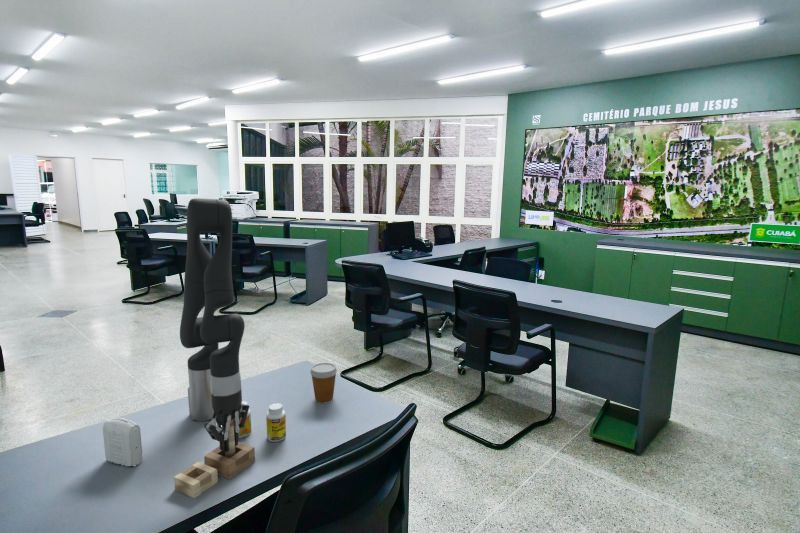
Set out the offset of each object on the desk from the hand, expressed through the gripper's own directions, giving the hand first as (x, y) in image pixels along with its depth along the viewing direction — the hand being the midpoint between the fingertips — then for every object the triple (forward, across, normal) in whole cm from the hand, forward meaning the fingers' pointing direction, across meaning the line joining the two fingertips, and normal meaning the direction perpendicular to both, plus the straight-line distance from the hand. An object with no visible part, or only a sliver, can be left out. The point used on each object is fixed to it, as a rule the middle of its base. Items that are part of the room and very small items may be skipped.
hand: (229, 447), depth 118 cm
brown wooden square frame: (+5, 0, 0) cm, 5 cm away
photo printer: (+5, +12, -27) cm, 30 cm away
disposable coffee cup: (+5, -43, 0) cm, 43 cm away
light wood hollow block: (+5, +10, -1) cm, 11 cm away
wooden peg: (+4, 0, 0) cm, 4 cm away
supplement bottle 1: (+5, -13, -9) cm, 17 cm away
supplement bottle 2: (+5, -16, +2) cm, 17 cm away
